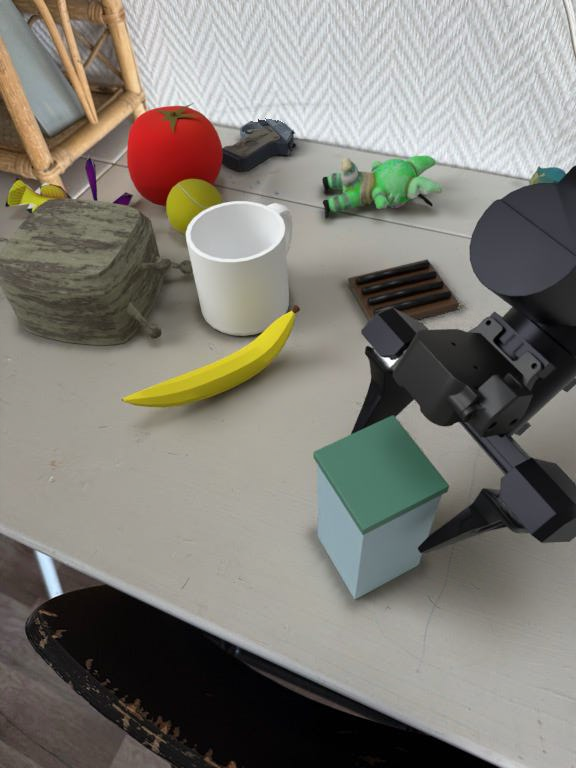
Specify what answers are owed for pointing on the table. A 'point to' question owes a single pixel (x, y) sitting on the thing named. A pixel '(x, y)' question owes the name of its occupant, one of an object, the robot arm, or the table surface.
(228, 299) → the mug
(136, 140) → the tomato
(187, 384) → the banana
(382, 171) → the toy
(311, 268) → the table surface
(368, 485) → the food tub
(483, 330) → the robot arm
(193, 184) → the tennis ball
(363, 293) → the dish rack
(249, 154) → the handgun
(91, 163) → the toy
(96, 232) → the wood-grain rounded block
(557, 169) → the figurine
